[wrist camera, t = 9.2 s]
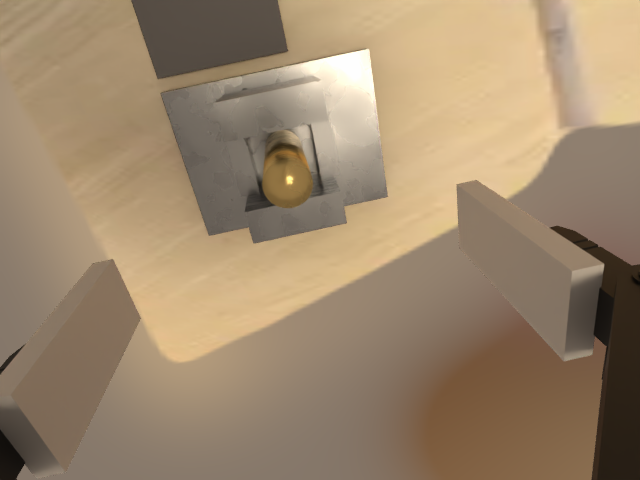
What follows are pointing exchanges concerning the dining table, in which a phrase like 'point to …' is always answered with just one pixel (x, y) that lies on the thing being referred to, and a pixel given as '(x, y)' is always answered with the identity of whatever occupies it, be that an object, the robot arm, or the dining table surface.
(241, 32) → the mat
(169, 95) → the bracket
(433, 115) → the dining table surface
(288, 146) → the peg
